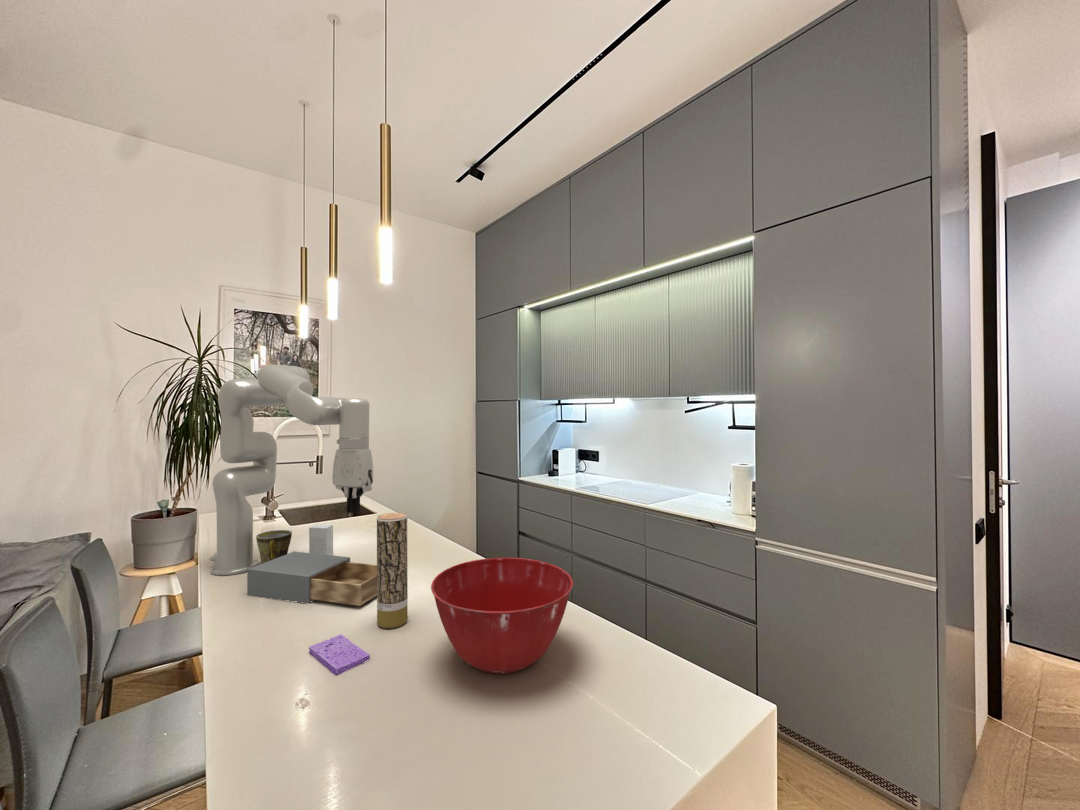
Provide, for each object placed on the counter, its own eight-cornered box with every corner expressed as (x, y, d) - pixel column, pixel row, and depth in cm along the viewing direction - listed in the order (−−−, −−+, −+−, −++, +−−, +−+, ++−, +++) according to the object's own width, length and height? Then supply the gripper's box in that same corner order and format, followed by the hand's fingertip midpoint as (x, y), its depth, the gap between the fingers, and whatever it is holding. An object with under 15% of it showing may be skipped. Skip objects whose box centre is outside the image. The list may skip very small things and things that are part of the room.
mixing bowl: (596, 642, 100) (595, 570, 100) (524, 719, 75) (523, 623, 75) (489, 613, 114) (489, 549, 114) (400, 670, 90) (399, 589, 90)
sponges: (341, 642, 101) (341, 633, 101) (371, 663, 93) (370, 653, 93) (308, 655, 96) (307, 646, 96) (336, 678, 88) (336, 668, 88)
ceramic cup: (258, 562, 152) (258, 531, 152) (292, 558, 156) (292, 528, 156) (252, 575, 140) (252, 542, 140) (290, 570, 144) (290, 538, 144)
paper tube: (398, 631, 105) (398, 520, 105) (371, 628, 107) (370, 518, 107) (412, 617, 112) (412, 513, 112) (386, 615, 113) (386, 512, 113)
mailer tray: (298, 597, 122) (298, 577, 122) (336, 578, 135) (336, 560, 135) (359, 605, 116) (359, 585, 116) (393, 585, 130) (393, 566, 130)
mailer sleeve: (247, 595, 126) (247, 569, 126) (294, 574, 141) (294, 551, 141) (308, 604, 120) (308, 576, 120) (350, 581, 135) (350, 557, 135)
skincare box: (333, 561, 153) (333, 524, 153) (326, 565, 149) (326, 527, 149) (316, 560, 154) (316, 524, 154) (308, 564, 150) (308, 527, 150)
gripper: (321, 444, 125) (320, 512, 125) (368, 446, 121) (367, 517, 121) (340, 442, 132) (340, 506, 133) (386, 444, 128) (385, 511, 128)
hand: (353, 511), depth 127 cm, fingers closed
